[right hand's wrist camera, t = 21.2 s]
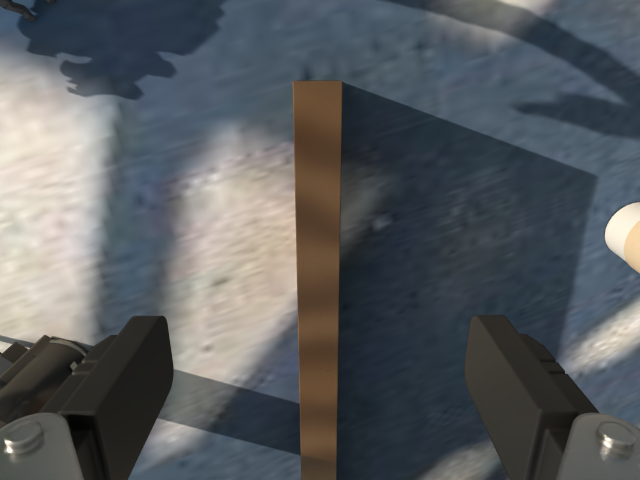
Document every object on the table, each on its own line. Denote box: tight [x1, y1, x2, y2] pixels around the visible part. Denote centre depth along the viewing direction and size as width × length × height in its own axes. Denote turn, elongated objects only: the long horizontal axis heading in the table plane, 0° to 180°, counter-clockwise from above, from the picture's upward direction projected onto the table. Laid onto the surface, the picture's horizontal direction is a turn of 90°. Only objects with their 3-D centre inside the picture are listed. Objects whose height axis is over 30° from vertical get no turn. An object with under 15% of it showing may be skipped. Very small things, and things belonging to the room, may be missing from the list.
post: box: [293, 80, 342, 480], centre depth 56 cm, size 75×4×9 cm, turn 0°
